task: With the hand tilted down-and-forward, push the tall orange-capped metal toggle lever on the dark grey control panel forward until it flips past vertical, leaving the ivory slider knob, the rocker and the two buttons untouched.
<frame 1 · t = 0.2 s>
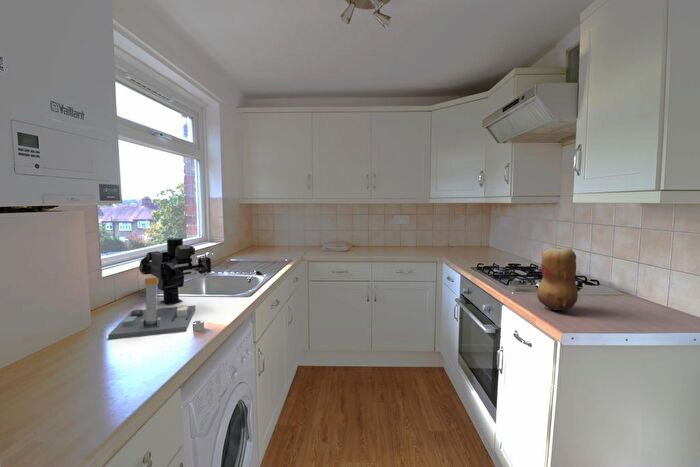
hand: (195, 272, 125), 17 cm above the counter, tool horizontal, fingers open, 9 cm apart
butternut squash: (556, 311, 132), on the counter
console: (157, 322, 120), on the counter
lever A: (151, 301, 113), point 9 cm above the counter, hinge at -15.0°
slider B: (181, 312, 122), point 3 cm above the counter, slide at 0.0 cm
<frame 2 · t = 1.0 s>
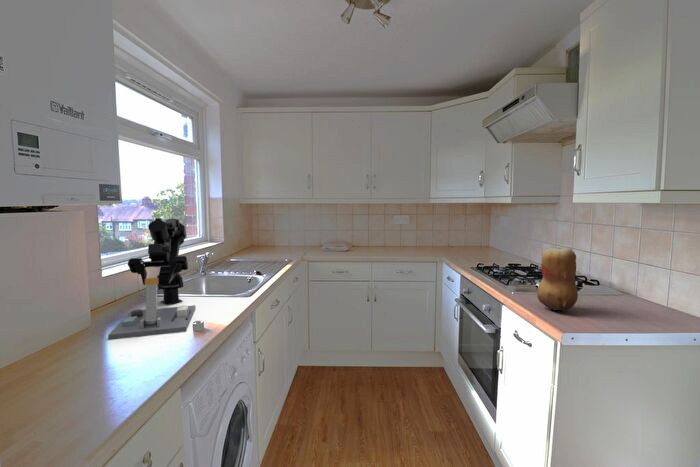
hand: (156, 283, 119), 14 cm above the counter, tool tilted 45°, fingers open, 7 cm apart
nothing on the counter moved.
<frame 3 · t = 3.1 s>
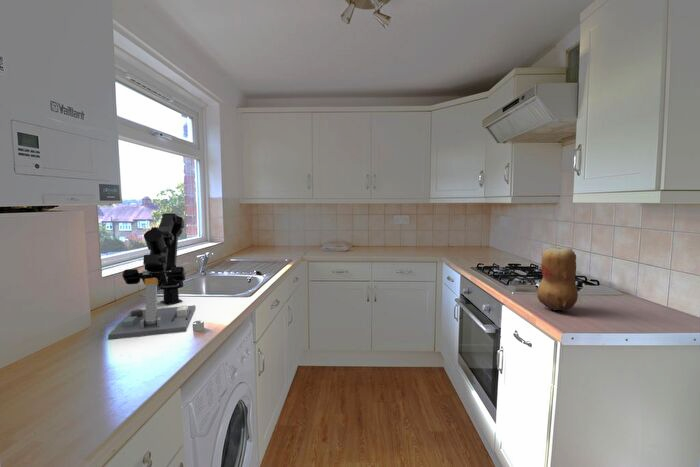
hand: (152, 296, 114), 11 cm above the counter, tool tilted 45°, fingers closed, pressing on lever A
lever A: (151, 301, 113), point 9 cm above the counter, hinge at -13.6°, touching gripper
everything else where it was.
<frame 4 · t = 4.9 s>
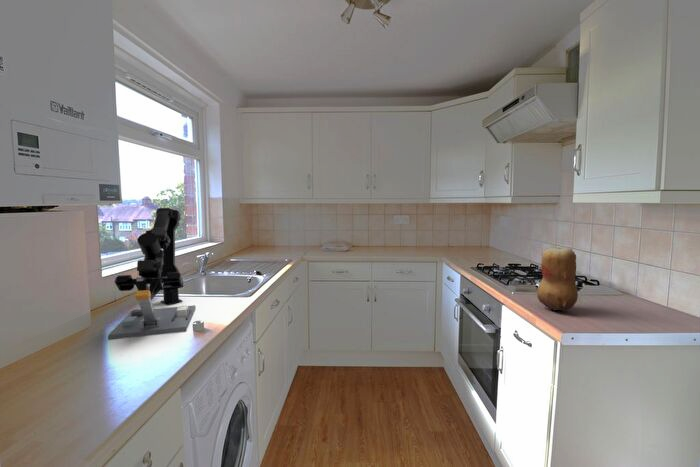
hand: (146, 304, 107), 10 cm above the counter, tool tilted 45°, fingers closed, pressing on lever A
lever A: (147, 309, 108), point 8 cm above the counter, hinge at 33.0°, touching gripper
everything else where it was.
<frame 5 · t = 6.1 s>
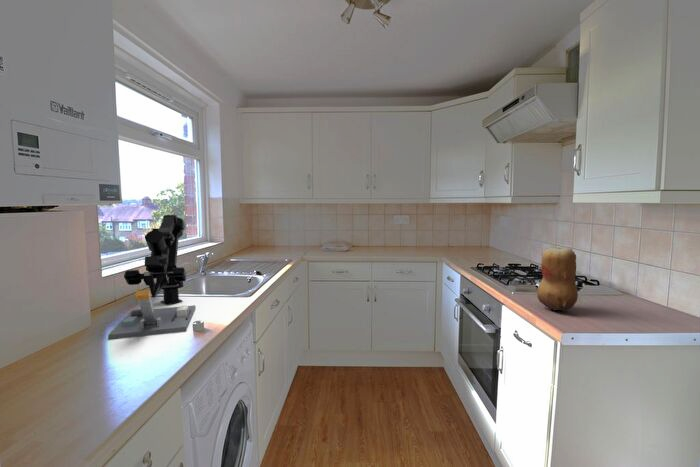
hand: (153, 297, 116), 10 cm above the counter, tool tilted 45°, fingers closed
lever A: (147, 309, 108), point 8 cm above the counter, hinge at 33.1°
everything else where it was.
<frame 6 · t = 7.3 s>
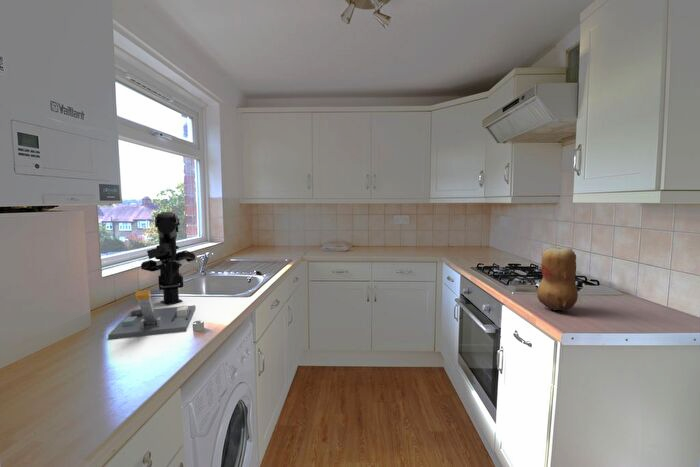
hand: (169, 283, 124), 13 cm above the counter, tool tilted 25°, fingers closed
nothing on the counter moved.
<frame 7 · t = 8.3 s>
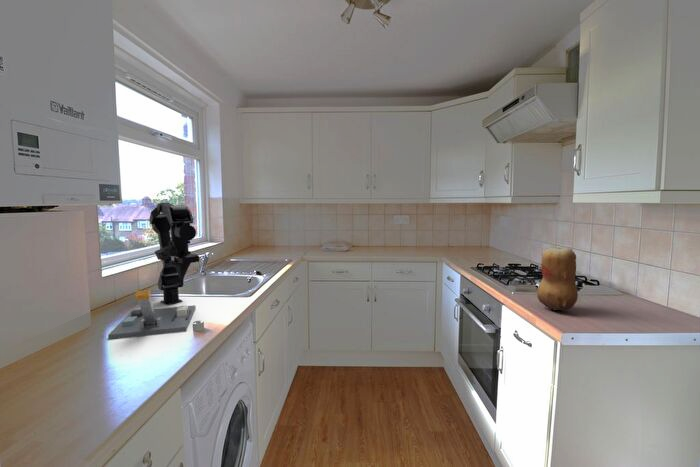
hand: (181, 278, 130), 13 cm above the counter, tool pointing down, fingers closed
nothing on the counter moved.
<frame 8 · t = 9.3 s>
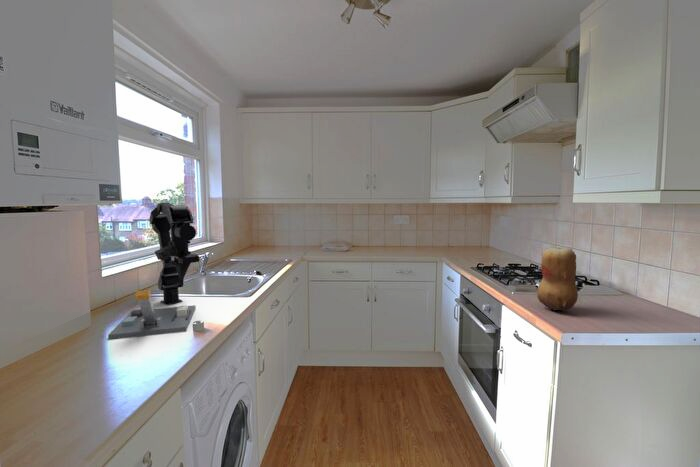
hand: (181, 278, 130), 13 cm above the counter, tool pointing down, fingers closed
nothing on the counter moved.
at the end: lever A at +33° (first picture: -15°); slider B slide at 0.0 cm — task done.
